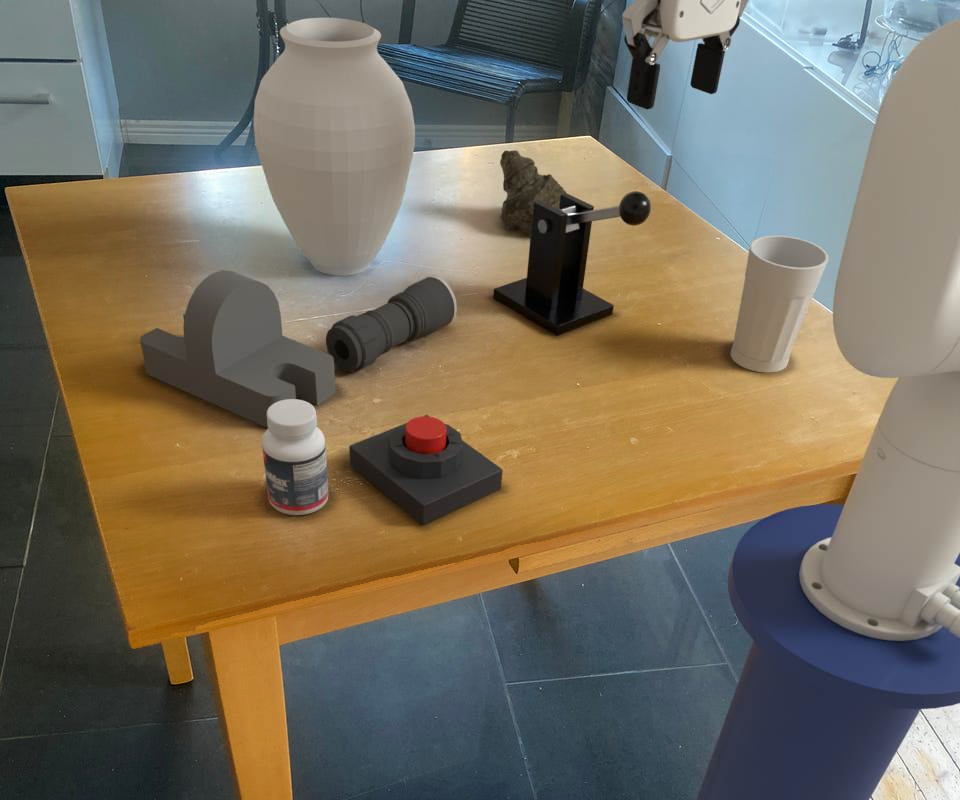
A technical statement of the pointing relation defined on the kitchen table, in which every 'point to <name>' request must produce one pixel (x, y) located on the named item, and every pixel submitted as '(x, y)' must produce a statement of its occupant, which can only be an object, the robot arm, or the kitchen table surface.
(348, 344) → the flashlight
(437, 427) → the button
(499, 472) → the button block
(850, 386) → the kitchen table surface
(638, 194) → the lever
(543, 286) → the bracket
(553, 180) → the brown rock
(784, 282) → the cup
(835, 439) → the kitchen table surface
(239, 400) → the bracket
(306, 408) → the pill bottle
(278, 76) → the vase
